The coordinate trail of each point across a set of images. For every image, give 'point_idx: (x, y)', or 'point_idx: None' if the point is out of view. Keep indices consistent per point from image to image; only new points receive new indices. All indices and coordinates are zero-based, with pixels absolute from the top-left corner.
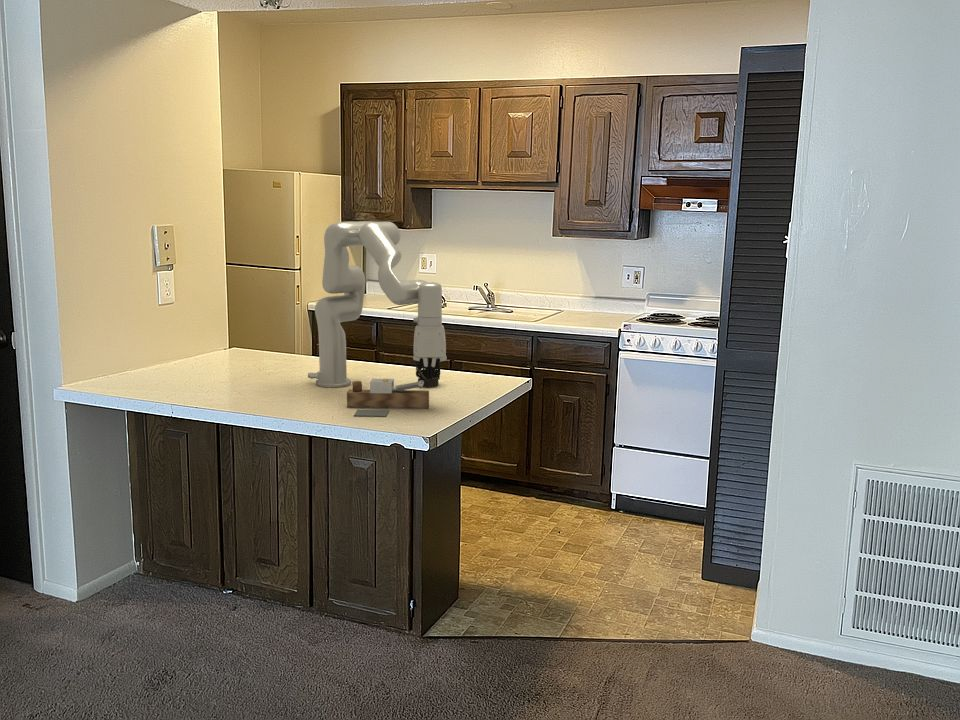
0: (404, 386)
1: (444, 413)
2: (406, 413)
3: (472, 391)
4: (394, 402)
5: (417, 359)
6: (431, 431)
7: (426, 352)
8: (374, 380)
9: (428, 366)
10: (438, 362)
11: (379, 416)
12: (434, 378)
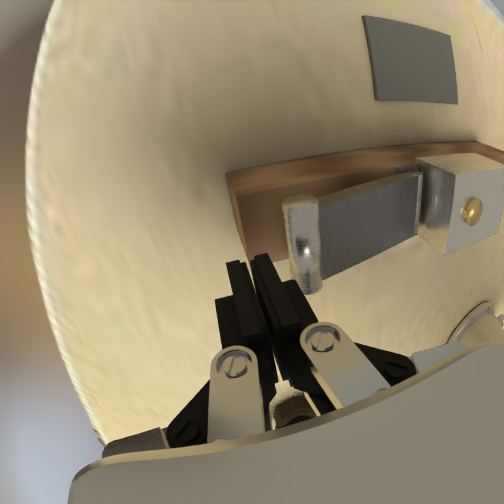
0: (387, 193)
1: (124, 120)
2: (301, 74)
3: (168, 406)
4: (380, 153)
5: (431, 361)
6: None
7: (403, 482)
8: (497, 202)
9: (290, 346)
10: (182, 411)
11: (384, 19)
12: (284, 422)
